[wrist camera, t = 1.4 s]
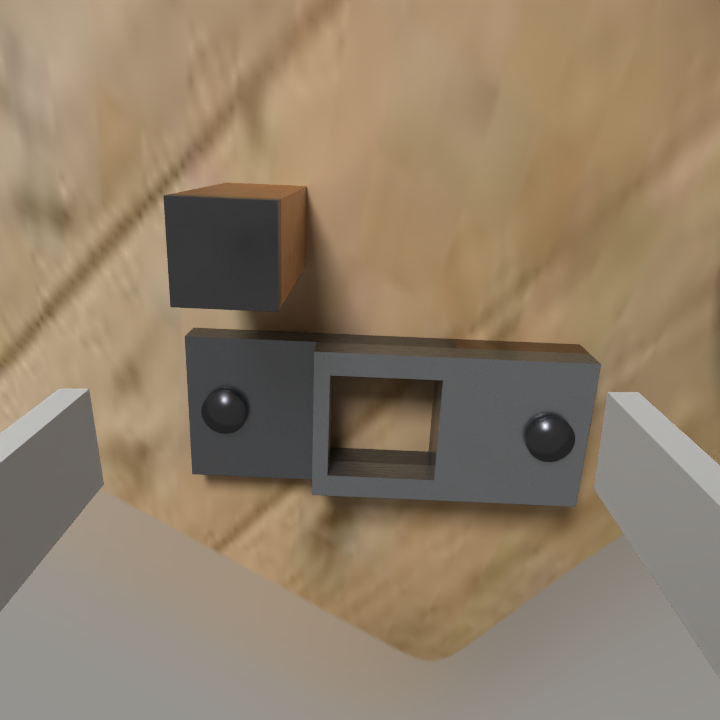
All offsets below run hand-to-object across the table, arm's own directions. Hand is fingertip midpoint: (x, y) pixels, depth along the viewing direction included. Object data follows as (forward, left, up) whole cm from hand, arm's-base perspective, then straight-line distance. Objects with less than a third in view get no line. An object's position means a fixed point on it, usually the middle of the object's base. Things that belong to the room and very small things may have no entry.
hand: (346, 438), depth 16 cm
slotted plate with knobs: (+10, +2, -25) cm, 27 cm away
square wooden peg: (-2, -6, -25) cm, 26 cm away
